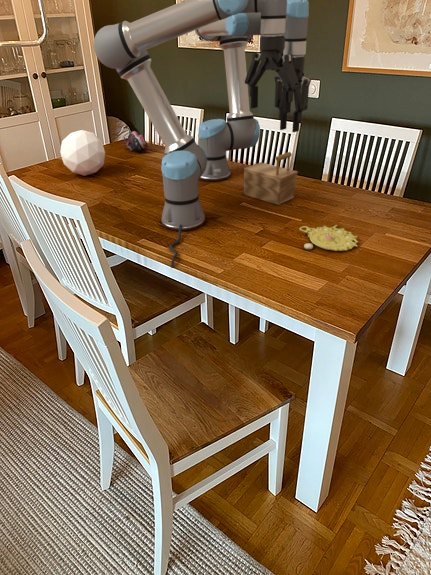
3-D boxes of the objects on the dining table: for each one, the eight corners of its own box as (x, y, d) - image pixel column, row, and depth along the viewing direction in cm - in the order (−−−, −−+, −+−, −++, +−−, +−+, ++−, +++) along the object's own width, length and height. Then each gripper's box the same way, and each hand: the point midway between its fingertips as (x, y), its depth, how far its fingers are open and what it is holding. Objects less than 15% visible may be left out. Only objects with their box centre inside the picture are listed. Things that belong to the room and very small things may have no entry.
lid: (297, 174, 167) (299, 152, 163) (281, 181, 161) (282, 158, 157) (260, 164, 178) (261, 144, 174) (244, 170, 172) (244, 149, 168)
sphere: (92, 190, 205) (77, 164, 186) (61, 170, 209) (44, 142, 190) (118, 162, 209) (107, 134, 191) (87, 142, 214) (73, 113, 195)
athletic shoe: (136, 131, 245) (115, 136, 241) (146, 124, 225) (123, 129, 221) (142, 152, 248) (122, 157, 244) (152, 146, 228) (130, 152, 224)
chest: (294, 197, 173) (295, 173, 168) (278, 205, 167) (279, 180, 162) (259, 187, 183) (260, 164, 178) (243, 194, 177) (244, 171, 172)
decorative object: (343, 255, 128) (285, 234, 139) (342, 262, 130) (284, 241, 140) (372, 230, 142) (317, 213, 152) (371, 237, 143) (316, 219, 153)
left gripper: (314, 35, 127) (308, 113, 139) (249, 34, 142) (248, 104, 154) (299, 37, 123) (294, 117, 134) (233, 35, 138) (234, 107, 149)
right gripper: (323, 56, 140) (316, 132, 153) (279, 53, 151) (276, 124, 164) (309, 58, 136) (303, 136, 148) (265, 55, 147) (263, 128, 159)
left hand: (269, 110), depth 144 cm, fingers open, 13 cm apart
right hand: (289, 130), depth 156 cm, fingers open, 5 cm apart
